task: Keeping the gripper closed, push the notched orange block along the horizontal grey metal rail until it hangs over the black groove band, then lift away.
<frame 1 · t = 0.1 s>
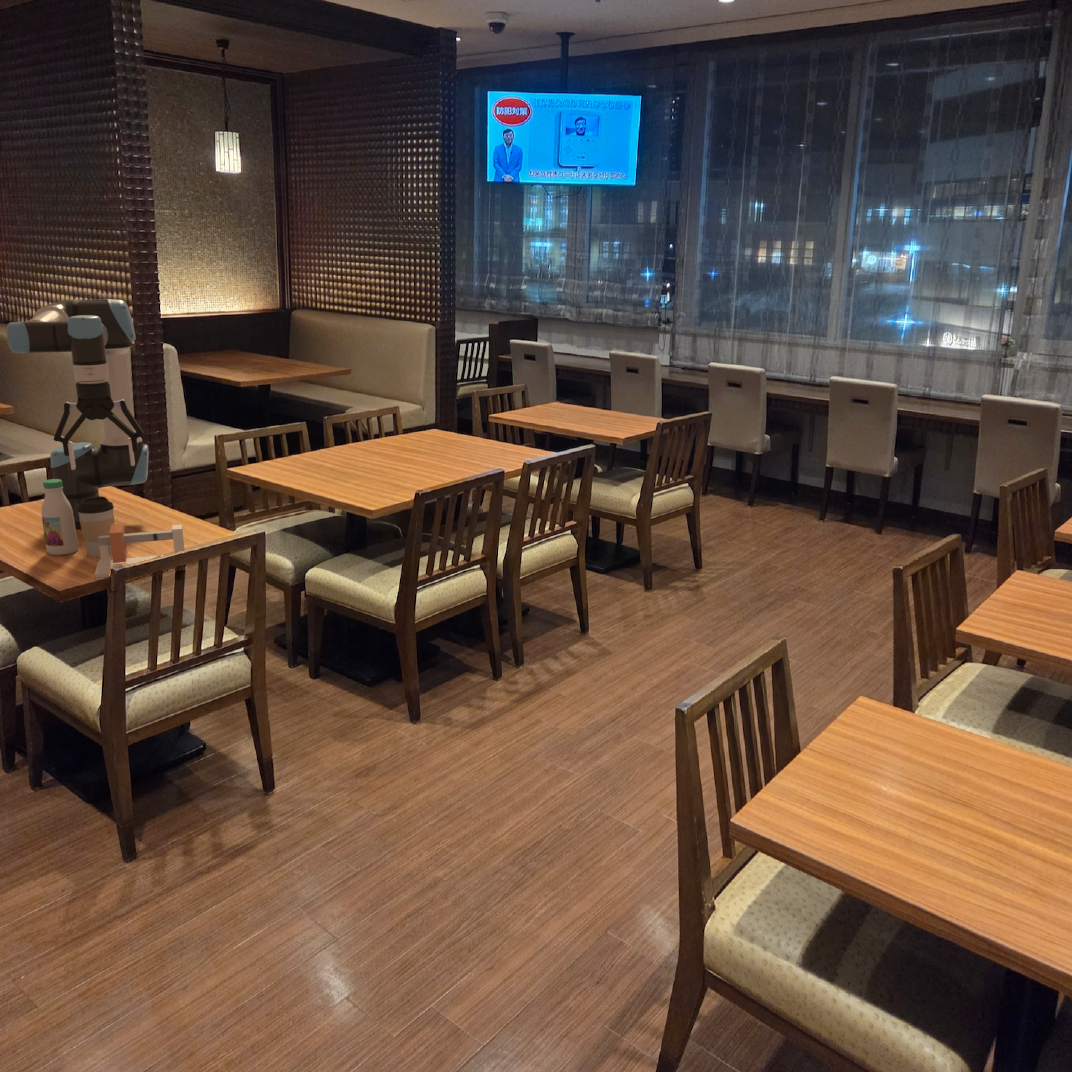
hand: (103, 466, 238), 28 cm above the table, fingers open, 13 cm apart
notched orange block: (118, 542, 247), point 7 cm above the table, touching rail
rail: (142, 566, 251), on the table
milk bottle: (63, 552, 261), on the table
coffee cup: (101, 553, 261), on the table
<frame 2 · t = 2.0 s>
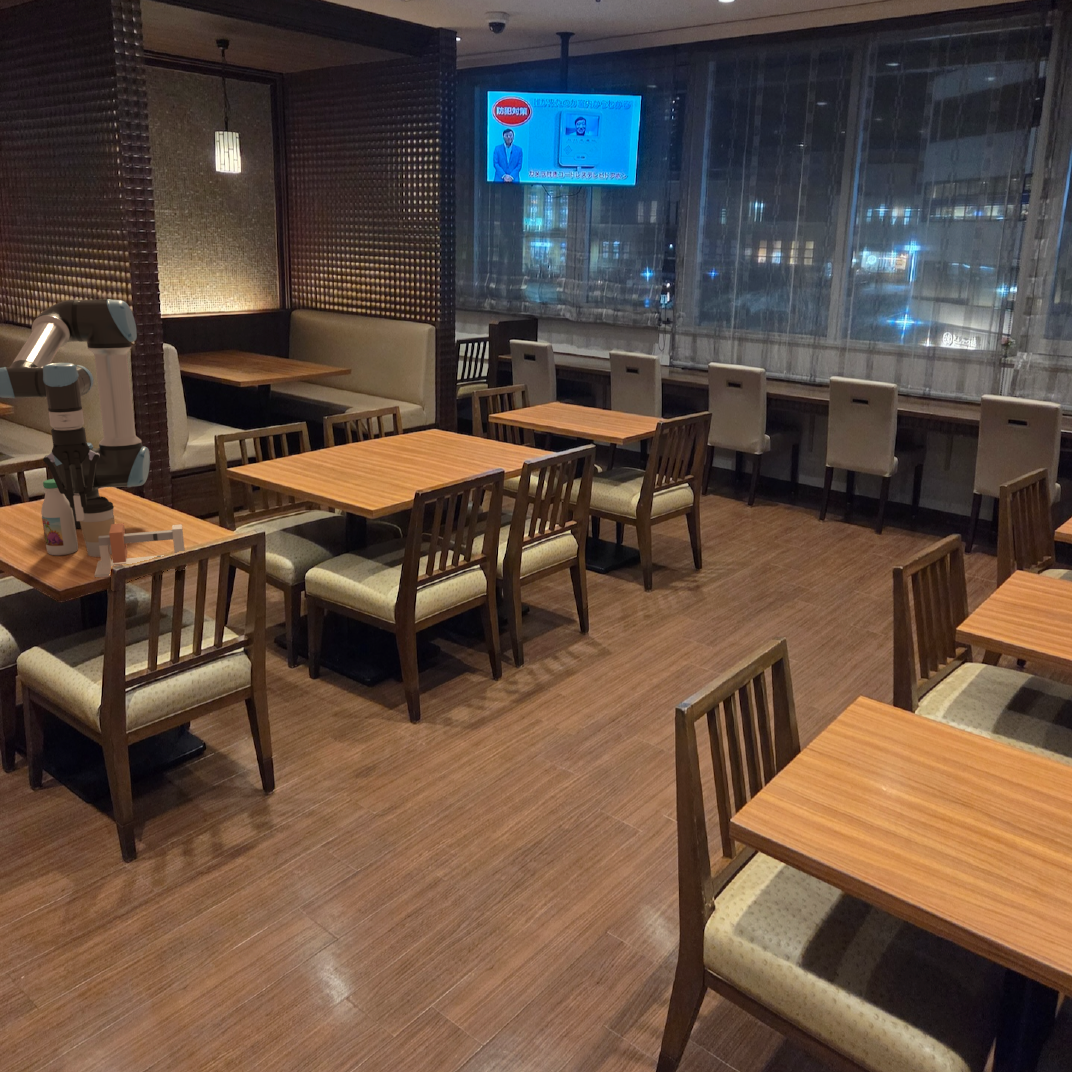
hand: (80, 519, 242), 14 cm above the table, fingers closed
nothing on the table moved.
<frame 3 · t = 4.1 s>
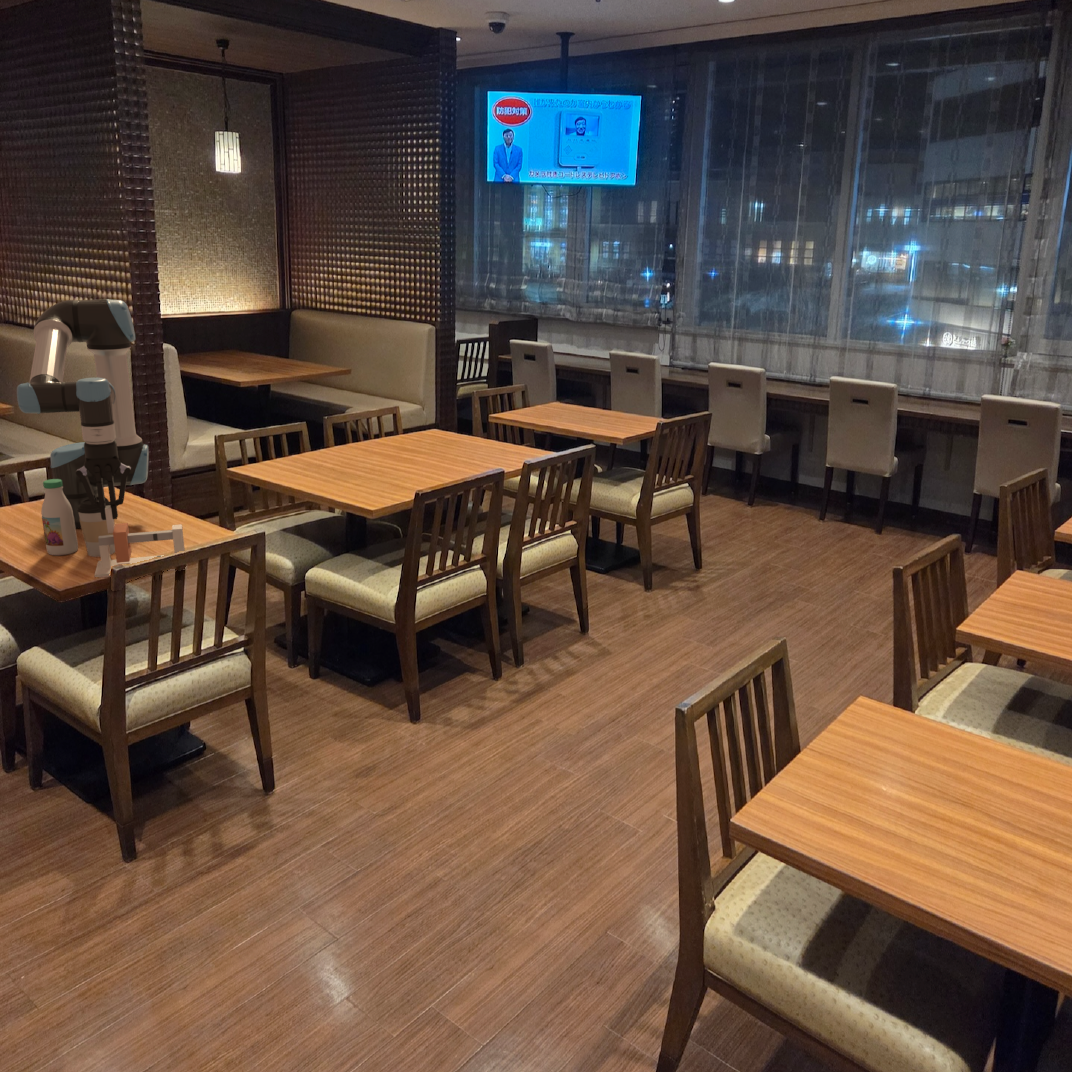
hand: (111, 531, 245), 10 cm above the table, fingers closed
notched orange block: (122, 542, 247), point 7 cm above the table, touching gripper
everything else where it was.
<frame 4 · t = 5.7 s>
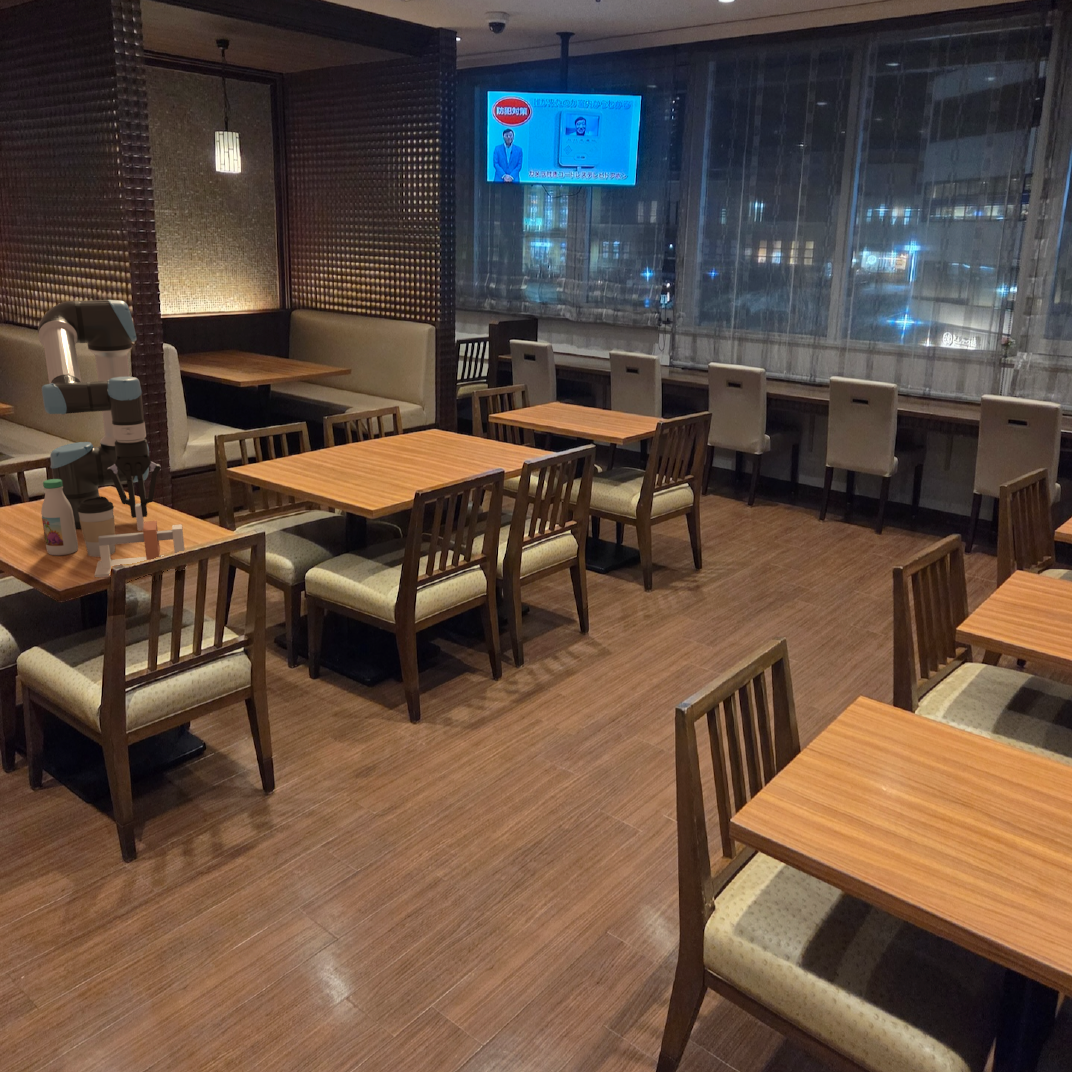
hand: (141, 528, 248), 10 cm above the table, fingers closed
notched orange block: (151, 540, 249), point 7 cm above the table, touching gripper, rail
everything else where it was.
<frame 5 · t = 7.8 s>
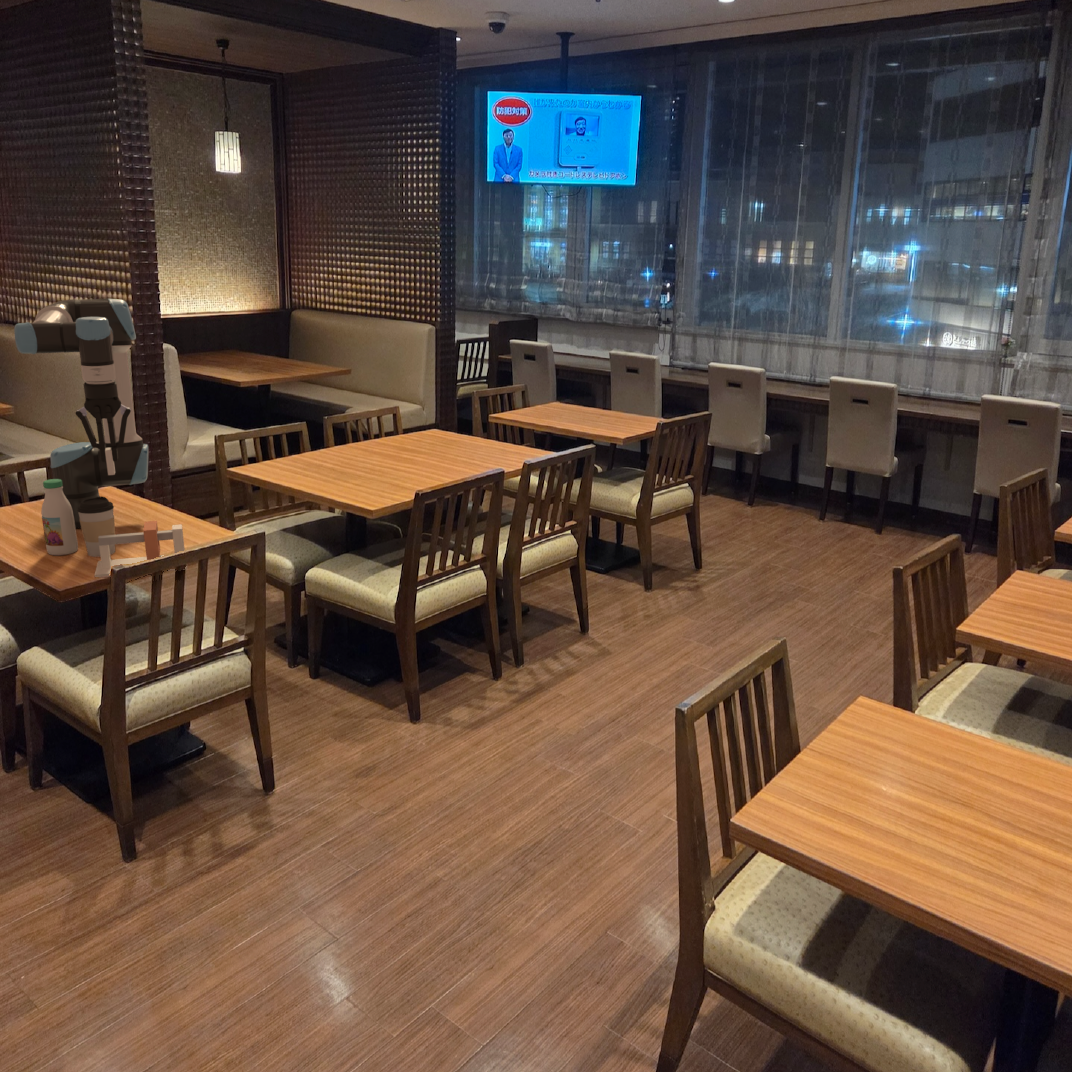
hand: (111, 473, 244), 25 cm above the table, fingers closed
notched orange block: (151, 540, 249), point 7 cm above the table, touching rail
everything else where it was.
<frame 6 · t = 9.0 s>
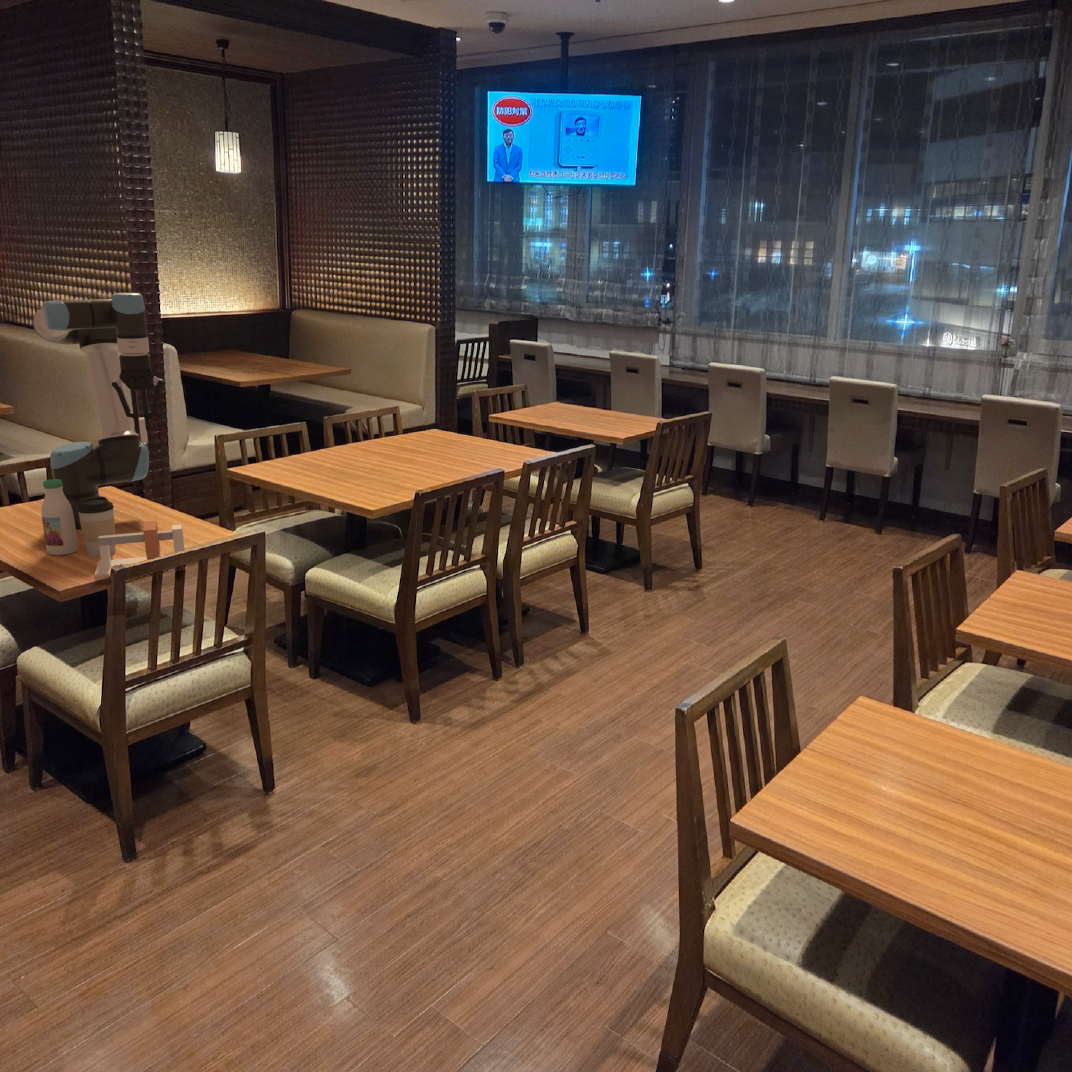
hand: (144, 442, 258), 29 cm above the table, fingers closed
nothing on the table moved.
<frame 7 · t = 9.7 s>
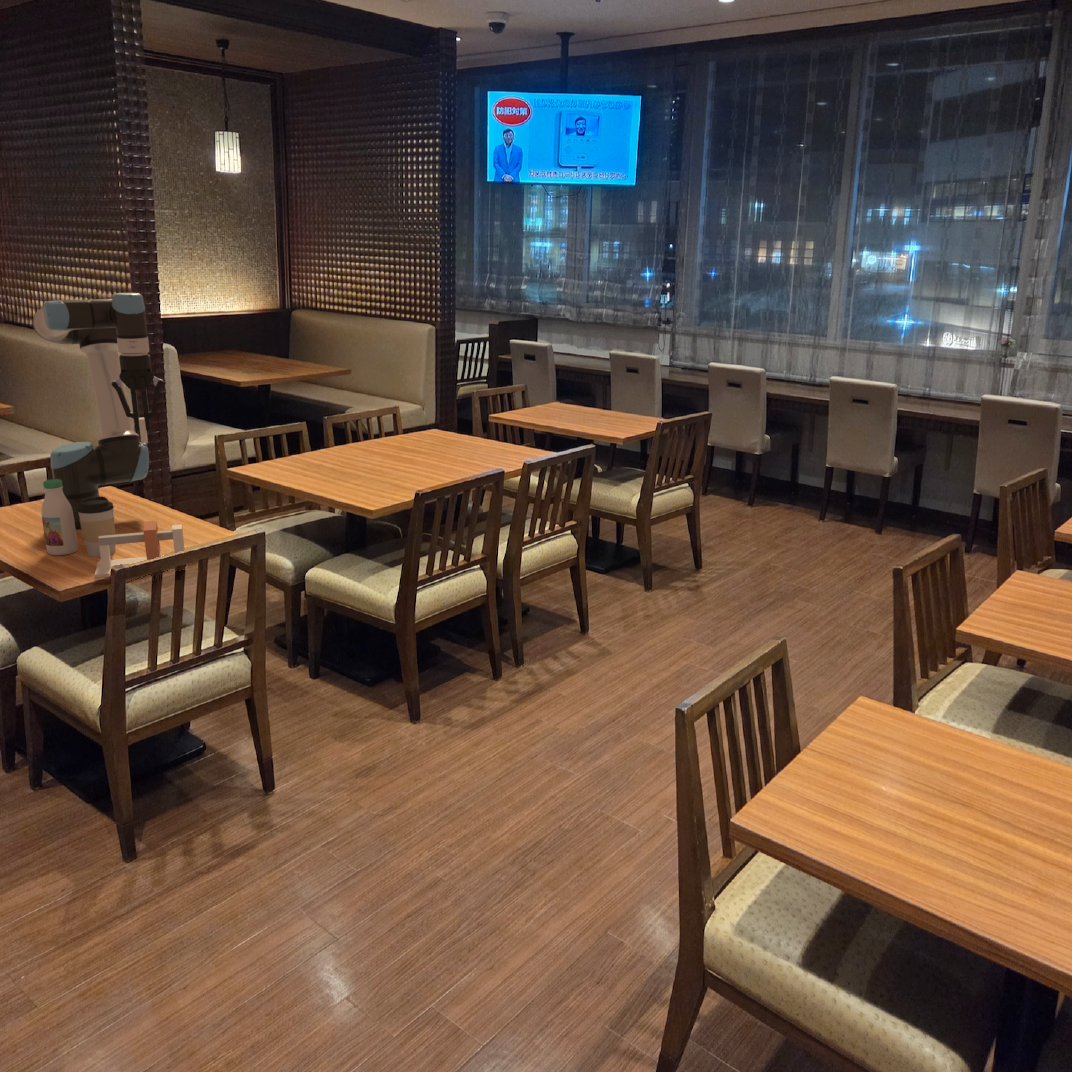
hand: (144, 442, 258), 29 cm above the table, fingers closed
nothing on the table moved.
at the end: notched orange block 0.9 cm from the target spot on the rail, point 7.0 cm above the rail's base; notched orange block moved 8.1 cm from its start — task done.
